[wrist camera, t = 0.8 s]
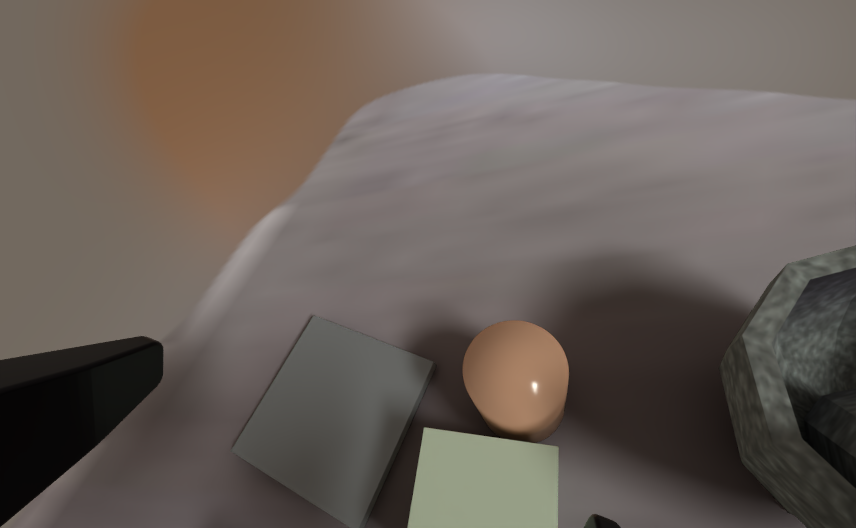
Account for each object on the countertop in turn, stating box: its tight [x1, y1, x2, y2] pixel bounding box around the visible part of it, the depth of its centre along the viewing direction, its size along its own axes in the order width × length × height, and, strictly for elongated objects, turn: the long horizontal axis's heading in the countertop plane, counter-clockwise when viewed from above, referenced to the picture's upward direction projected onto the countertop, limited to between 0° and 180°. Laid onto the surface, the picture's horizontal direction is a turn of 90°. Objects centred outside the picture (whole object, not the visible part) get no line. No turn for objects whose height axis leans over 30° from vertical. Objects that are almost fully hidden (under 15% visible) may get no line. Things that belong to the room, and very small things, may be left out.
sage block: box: [408, 427, 558, 528], centre depth 16 cm, size 5×5×4 cm
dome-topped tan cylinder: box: [463, 321, 569, 443], centre depth 18 cm, size 4×4×4 cm
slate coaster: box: [231, 316, 436, 528], centre depth 21 cm, size 8×8×1 cm
